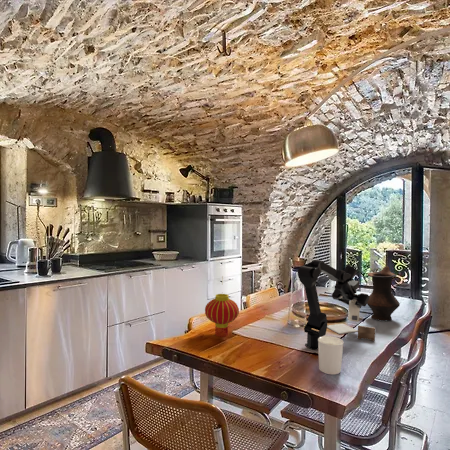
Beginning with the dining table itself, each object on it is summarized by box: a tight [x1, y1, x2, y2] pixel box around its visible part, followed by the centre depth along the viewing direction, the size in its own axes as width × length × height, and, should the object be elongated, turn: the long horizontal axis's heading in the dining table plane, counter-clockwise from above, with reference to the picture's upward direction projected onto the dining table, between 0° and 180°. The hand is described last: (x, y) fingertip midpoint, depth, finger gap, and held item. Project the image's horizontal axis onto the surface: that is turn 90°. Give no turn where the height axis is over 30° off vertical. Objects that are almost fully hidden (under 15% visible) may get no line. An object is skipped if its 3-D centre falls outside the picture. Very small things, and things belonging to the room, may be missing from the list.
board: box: [327, 323, 358, 335], centre depth 190 cm, size 12×12×1 cm
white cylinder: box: [317, 335, 345, 375], centre depth 141 cm, size 10×10×12 cm
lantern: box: [204, 275, 240, 337], centre depth 178 cm, size 17×17×30 cm
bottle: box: [347, 293, 361, 323], centre depth 186 cm, size 6×5×14 cm
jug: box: [366, 266, 400, 322], centre depth 209 cm, size 21×18×30 cm
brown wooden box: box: [357, 324, 376, 342], centre depth 176 cm, size 8×4×6 cm, turn 66°
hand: (355, 306), depth 187 cm, fingers closed on bottle, 5 cm apart
